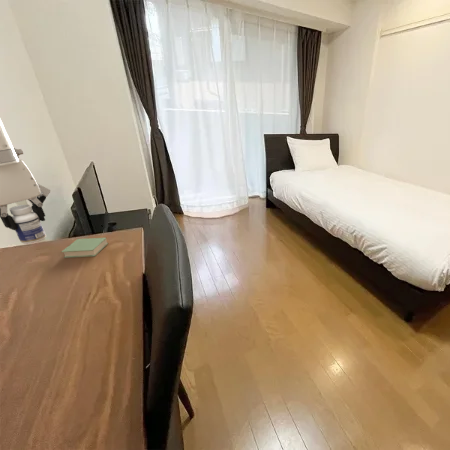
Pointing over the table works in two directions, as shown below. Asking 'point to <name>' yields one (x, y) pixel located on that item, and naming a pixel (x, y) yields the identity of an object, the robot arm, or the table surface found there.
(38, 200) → the robot arm
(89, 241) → the book
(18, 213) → the pill bottle
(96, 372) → the table surface
